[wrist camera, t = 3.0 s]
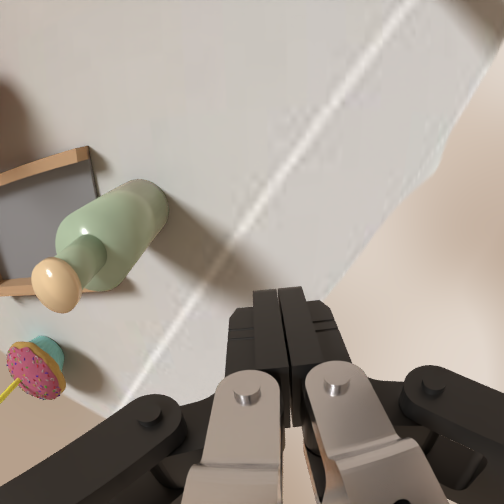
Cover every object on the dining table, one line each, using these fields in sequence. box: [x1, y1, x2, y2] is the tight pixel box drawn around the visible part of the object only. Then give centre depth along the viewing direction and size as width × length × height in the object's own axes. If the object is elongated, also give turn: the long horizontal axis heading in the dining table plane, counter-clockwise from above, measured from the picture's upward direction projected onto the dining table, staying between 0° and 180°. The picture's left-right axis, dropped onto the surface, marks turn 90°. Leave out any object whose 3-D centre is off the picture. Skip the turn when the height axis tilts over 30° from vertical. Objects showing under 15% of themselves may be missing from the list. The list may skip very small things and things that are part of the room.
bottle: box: [31, 179, 169, 313], centre depth 20 cm, size 5×5×15 cm
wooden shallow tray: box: [0, 146, 110, 296], centre depth 26 cm, size 18×13×3 cm
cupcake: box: [0, 336, 66, 404], centre depth 28 cm, size 9×8×12 cm
